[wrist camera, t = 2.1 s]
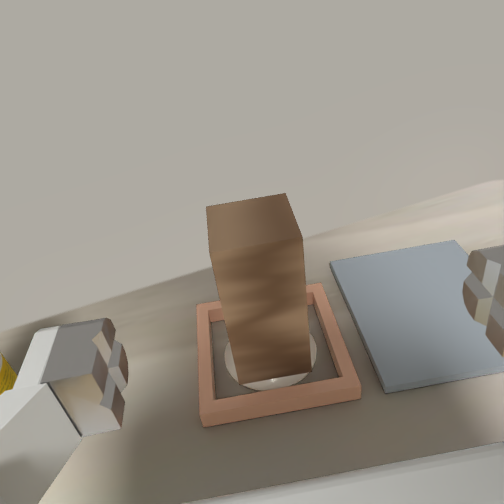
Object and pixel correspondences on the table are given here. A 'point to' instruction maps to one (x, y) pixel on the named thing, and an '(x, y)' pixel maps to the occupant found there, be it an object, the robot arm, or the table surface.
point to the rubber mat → (416, 316)
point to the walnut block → (261, 286)
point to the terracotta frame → (279, 389)
